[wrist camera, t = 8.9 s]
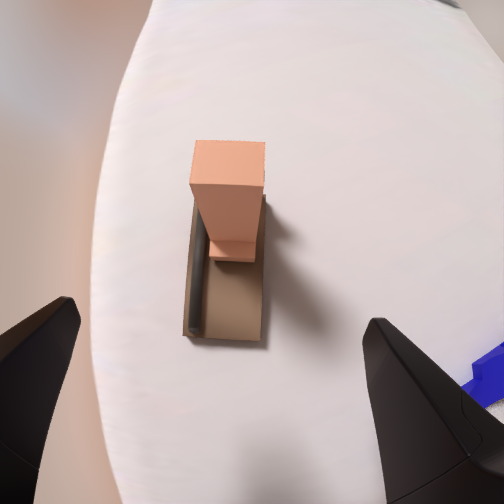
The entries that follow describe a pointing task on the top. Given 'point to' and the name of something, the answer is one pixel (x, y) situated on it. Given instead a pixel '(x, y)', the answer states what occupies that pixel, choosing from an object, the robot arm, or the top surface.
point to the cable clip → (487, 378)
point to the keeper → (229, 195)
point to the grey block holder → (223, 288)
